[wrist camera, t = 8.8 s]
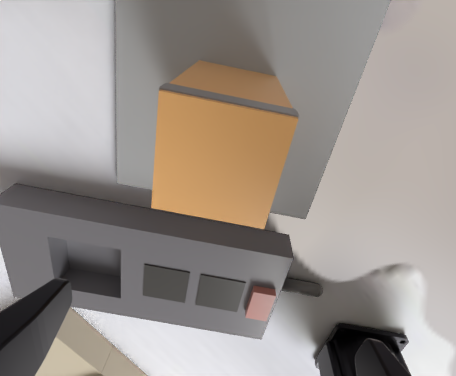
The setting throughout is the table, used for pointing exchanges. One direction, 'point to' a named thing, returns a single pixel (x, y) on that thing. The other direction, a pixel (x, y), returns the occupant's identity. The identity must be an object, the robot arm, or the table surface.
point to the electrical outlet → (84, 353)
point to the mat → (248, 60)
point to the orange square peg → (221, 143)
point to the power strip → (146, 261)
